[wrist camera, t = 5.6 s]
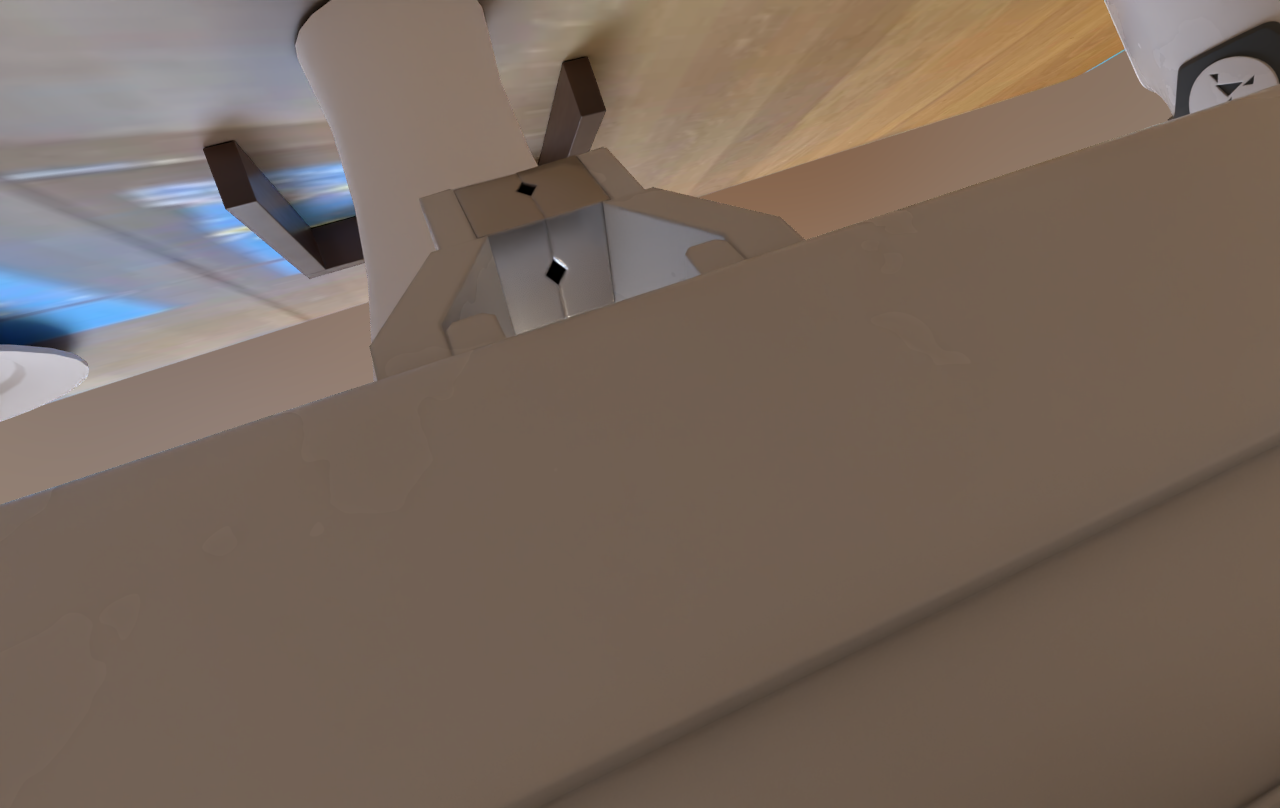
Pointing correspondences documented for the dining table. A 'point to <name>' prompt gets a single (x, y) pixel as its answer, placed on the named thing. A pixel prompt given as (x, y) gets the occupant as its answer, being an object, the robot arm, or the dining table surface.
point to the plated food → (36, 377)
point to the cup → (408, 120)
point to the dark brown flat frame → (340, 241)
